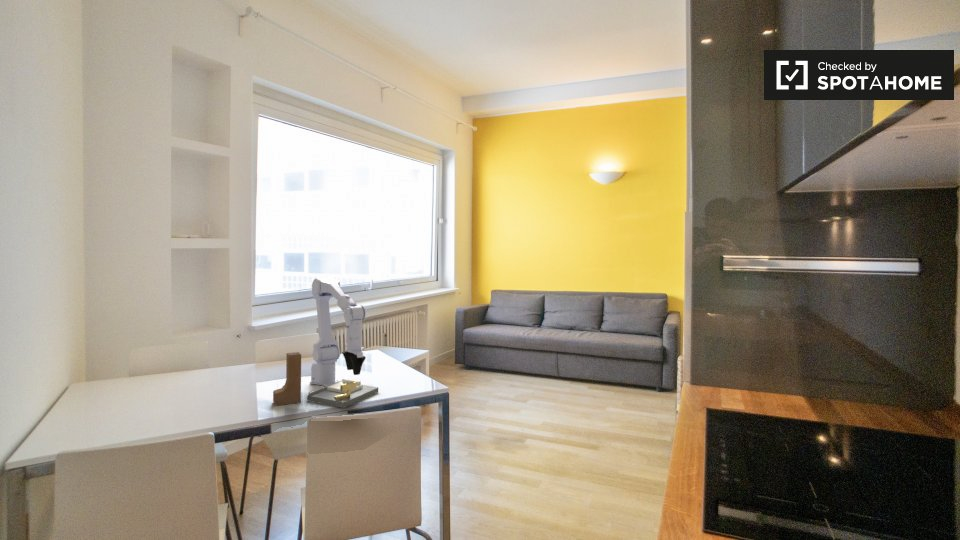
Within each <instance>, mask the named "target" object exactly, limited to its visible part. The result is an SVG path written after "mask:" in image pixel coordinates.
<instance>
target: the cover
mask: <svg viewBox="0 0 960 540" xmlns="http://www.w3.org/2000/svg"><path fill="white" fill-rule="evenodd" d="M341 380H342V381H341ZM341 380H340V381H341V382H339V383H336V384H334V385H331V386H328V387H327V390H330V391H335V392H340V393H347V391H344V392H341V391H340V385H341V384H346V383H350V382H357V389H353V390H350V393H351V392H354V391H356V390H359V389H361V388H363V385H364V384H362V383H361V382H362V381H361V380H356V379H351V378H345V377H344V378H342V379H341Z"/></svg>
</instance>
